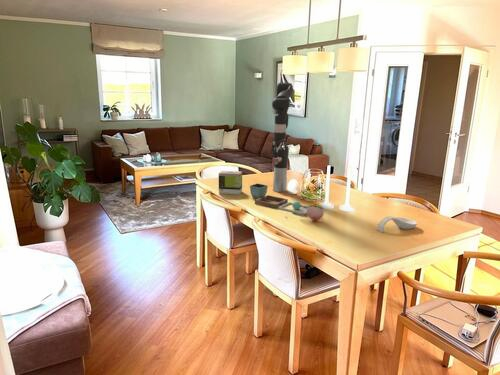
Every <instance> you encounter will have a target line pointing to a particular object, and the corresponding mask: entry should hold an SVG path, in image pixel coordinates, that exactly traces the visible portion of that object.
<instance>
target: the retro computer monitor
mask: <svg viewBox="0 0 500 375" xmlns="http://www.w3.org/2000/svg"><path fill="white" fill-rule="evenodd" d="M241 193H243V171H242V170H240V171H235V170H221V171H220V172H218V194H221V195H222V194H225V195H236V196H237V195H241Z"/></svg>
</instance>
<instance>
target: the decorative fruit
mask: <svg viewBox="0 0 500 375" xmlns="http://www.w3.org/2000/svg"><path fill="white" fill-rule="evenodd" d="M307 206H308V207H309V208H308V209H307V215H306V216H307V217H308V218H309V219H310V220H312V221H313V222H316V221H318V220H321V219H322V218H323V217H324V207H323V206H322V205H317V203H315V204H309V205H307Z"/></svg>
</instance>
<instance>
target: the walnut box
mask: <svg viewBox="0 0 500 375" xmlns="http://www.w3.org/2000/svg"><path fill="white" fill-rule="evenodd" d="M288 201H289V199H287V198H282V197H279V196H273V195H269V194H268V195H267V194H266V195H265V197H262V198H259V199H257V198H256V199H254V204H255V205H257V206H263V207H266V208H271V209H278V207H279V206H282V205H284V204H286V203H288Z"/></svg>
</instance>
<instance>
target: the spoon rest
mask: <svg viewBox="0 0 500 375" xmlns="http://www.w3.org/2000/svg"><path fill="white" fill-rule="evenodd" d="M389 221H392V222H393V223H395V225H396V226H397V227H398V228H399V229H401V228H402V230H410V229H414V228H415V227H416V226H417V225H418V222H417V221H416V220H412V219H409V218H405V217H394V216H391V215H390V216H385V217H384V218H382V219H381V220H380V221H379V223H378V224H377V226H376V231H379V232H380V233H384V232H385V226H386V224H387V223H388V222H389Z"/></svg>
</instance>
